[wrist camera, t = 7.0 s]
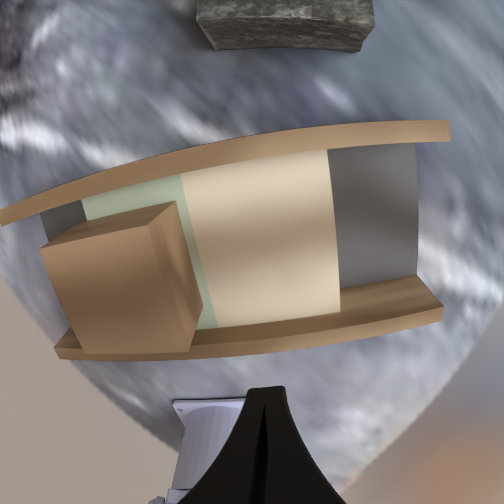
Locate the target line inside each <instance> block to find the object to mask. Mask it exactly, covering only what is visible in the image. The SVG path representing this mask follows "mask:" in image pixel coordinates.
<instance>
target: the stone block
mask: <svg viewBox="0 0 504 504" xmlns="http://www.w3.org/2000/svg"><path fill="white" fill-rule="evenodd" d="M196 21H197V23H198V24H199V26H200V28H201V29H202V31H203V32H204V34H205V35H206V36H207V38H208V40H209V41H210V42H211V44H212V45H213V47H214V49H215V50H221V49H242V48H318V49H334V50H340V51H344V52H360V50H361V47H362V43H363V41H364V40H365V39H366V37H367V36H368V34H369V33H370V32H371V31H372V30H373V28H374V27H375V21H374V10H373V3H372V0H197V17H196Z"/></svg>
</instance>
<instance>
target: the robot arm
mask: <svg viewBox="0 0 504 504" xmlns="http://www.w3.org/2000/svg"><path fill="white" fill-rule="evenodd" d="M173 407H174V409H175V411H176V413H177V415H178V416H179V418H180V420H181V422H182V423H183V425H184V427H185V432H184V436H183V440H182V444H181V448H180V452H179V457H178V461H177V465H176V469H175V474H174V478H173V482H172V487H171V489H168V494H167V498H166V502H165V498H163V497H160V496H158V497H156V499H153V500H151V501H150V502H149V503H148V504H346V503H345V501H344V500H343V499H342V498H341V497H340V496H339V495H338V493H337V492H336V491H335V490H334V488H333V487H332V486H331V484H330V483H329V482H328V481H327V479H326V478H325V477H324V475H323V474H322V472H321V471H320V469H319V468H318V466H317V465H316V463H315V462H314V460H313V458H312V457H311V455H310V453H309V452H308V450H307V448H306V446H305V444H304V442H303V440H302V438H301V436H300V434H299V432H298V430H297V428H296V425H295V423H294V421H293V418H292V415H291V413H290V410H289V406H288V402H287V396H286V390H285V387H284V386H273V387H263V388H252V389H249V390H248V392H247V395H246V398H239V399H220V400H176V401H174V402H173Z"/></svg>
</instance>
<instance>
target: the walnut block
mask: <svg viewBox="0 0 504 504" xmlns="http://www.w3.org/2000/svg"><path fill="white" fill-rule="evenodd" d="M39 251H40V254H41V256H42V259H43V262H44V265H45V267H46V270H47V272H48V275H49V277H50V280H51V282H52V285H53V287H54V290H55V292H56V294H57V297H58V299H59V301H60V303H61V306H62V308H63V310H64V312H65V314H66V316H67V319H68V321H69V323H70V325H71V327H72V329H73V331H74V333H75V335H76V337H77V339H78V341H79V343H80V344H81V346H82V348H83V350H84V352H85V354H148V353H174V352H188V351H189V348H190V345H191V342H192V339H193V336H194V333H195V330H196V327H197V324H198V321H199V318H200V315H201V312H202V309H203V306H204V305H203V302H202V298H201V295H200V291H199V288H198V284H197V281H196V277H195V273H194V270H193V266H192V262H191V259H190V255H189V251H188V247H187V243H186V240H185V236H184V232H183V228H182V224H181V220H180V216H179V211H178V207H177V203H176V201H172V202H167V203H162V204H157V205H153V206H148V207H144V208H139V209H135V210H130V211H126V212H122V213H117V214H113V215H109V216H105V217H101V218H97V219H93V220H89V221H85V222H81V223H79V224H77V225H76V226H74V227H72V228H71V229H69V230H68V231H66V232H64V233H63V234H61V235H60V236H58V237H56V238H55V239H53V240H52V241H50V242H49V243H47V244H46V245H44V246H43V247H41V248H40V249H39Z"/></svg>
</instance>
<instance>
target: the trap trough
mask: <svg viewBox="0 0 504 504" xmlns="http://www.w3.org/2000/svg"><path fill="white" fill-rule="evenodd" d="M441 141H451V137H450V127H449V121H446V120H396V121H374V122H358V123H345V124H334V125H324V126H314V127H306V128H298V129H290V130H283V131H276V132H269V133H263V134H257V135H251V136H245V137H239V138H234V139H228V140H223V141H218V142H213V143H208V144H204V145H199V146H194V147H190V148H186V149H181V150H177V151H173V152H169V153H165V154H161V155H157V156H153V157H149V158H146V159H142V160H138V161H135V162H131V163H128V164H124V165H121V166H117V167H114V168H111V169H107V170H104V171H101V172H98V173H95V174H92V175H89V176H86V177H83V178H80V179H77V180H74V181H71V182H68V183H65V184H63V185H60V186H57V187H54V188H52V189H49V190H46V191H44V192H41V193H39V194H36V195H34V196H31V197H29V198H26V199H24V200H22V201H19V202H17V203H15V204H12V205H10V206H8V207H6V208H3V209H1V210H0V223H1V226H4V225H7V224H10V223H12V222H15V221H18V220H20V219H23V218H26V217H29V216H32V215H34V214H37V213H40V215H41V218H42V221H43V225H44V228H45V231H46V234H47V237H48V240H49V242H50V241H52V240H53V239H55V238H56V237H58V236H60V235H61V234H63V233H64V232H66V231H68V230H69V229H71V228H72V227H74V226H76V225H77V224H79V223H81V222H85V221H89V220H93V219H97V218H101V217H105V216H109V215H113V214H117V213H122V212H126V211H130V210H135V209H139V208H144V207H148V206H153V205H157V204H162V203H167V202H172V201H176V203H177V207H178V211H179V216H180V220H181V224H182V228H183V232H184V236H185V240H186V243H187V247H188V251H189V255H190V259H191V262H192V266H193V270H194V273H195V277H196V281H197V284H198V288H199V291H200V295H201V298H202V302H203V305H204V306H203V309H202V312H201V315H200V318H199V321H198V324H197V327H196V330H195V333H194V336H193V339H192V342H191V345H190V348H189V351H188V352H174V353H148V354H85V352H84V350H83V348H82V346H81V344H80V343H79V341H78V339H77V337H76V335H75V333H74V331H73V329H72V327H70V328H69V330H68V331H67V332H66V333H65V334H64V336H63V337H62V338H61V339H60V341H59V342H58V343H57V344H56V346H55V347H54V349H55V351H56V353H57V355H58V356H59V358H60V359H70V360H94V361H162V360H188V359H205V358H220V357H232V356H243V355H253V354H263V353H272V352H280V351H288V350H296V349H303V348H310V347H316V346H323V345H329V344H335V343H341V342H347V341H352V340H358V339H363V338H368V337H373V336H378V335H383V334H388V333H392V332H397V331H401V330H406V329H410V328H414V327H419V326H423V325H427V324H431V323H435V322H438V321H442V315H443V309H444V306H443V305H442V304H441V302H440V301H439V300H438V299H437V298H436V296H435V295H434V294H433V293H432V292H431V291H430V289H429V288H428V287H427V286H426V285H425V284H424V283H423V281H422V280H421V279H420V278H419V277H418V276H417V259H418V179H417V162H416V150H415V142H441Z"/></svg>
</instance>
